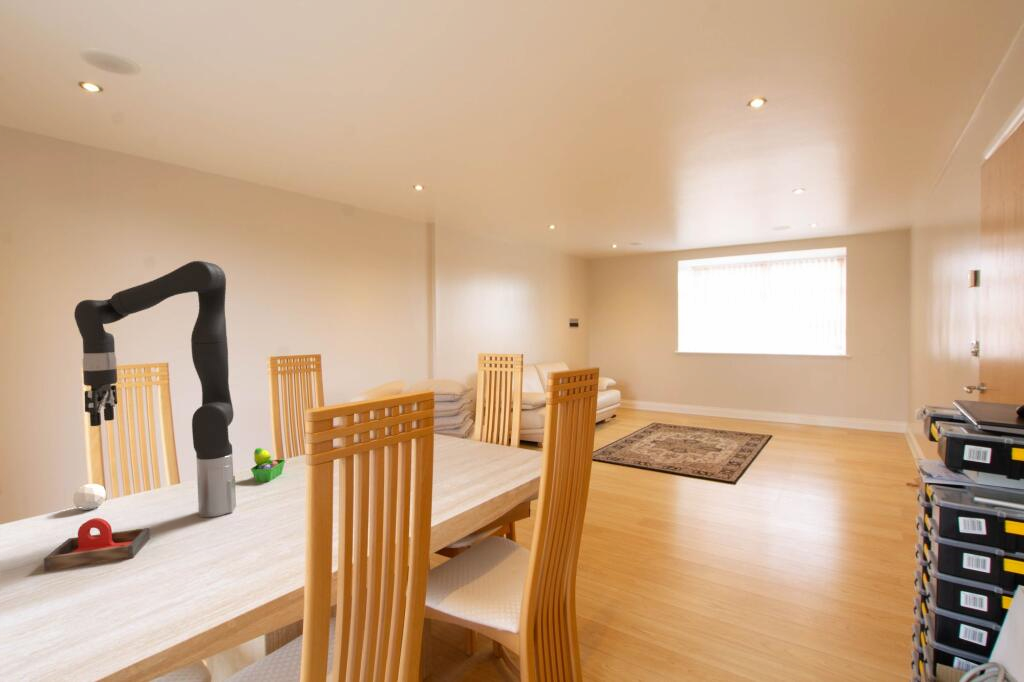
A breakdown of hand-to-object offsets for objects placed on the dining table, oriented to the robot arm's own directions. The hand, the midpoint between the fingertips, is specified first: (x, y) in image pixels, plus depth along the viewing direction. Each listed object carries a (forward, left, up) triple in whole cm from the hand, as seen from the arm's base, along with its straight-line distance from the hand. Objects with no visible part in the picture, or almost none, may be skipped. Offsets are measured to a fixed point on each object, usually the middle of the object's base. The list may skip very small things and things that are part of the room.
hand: (102, 423), depth 141 cm
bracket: (-10, +28, -28) cm, 41 cm away
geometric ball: (+8, -10, -28) cm, 31 cm away
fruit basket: (-40, -22, -28) cm, 54 cm away
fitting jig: (-9, +28, -28) cm, 41 cm away
